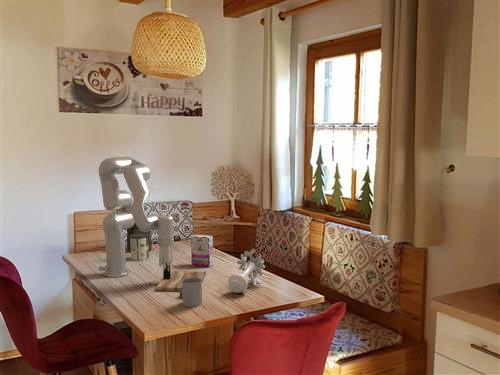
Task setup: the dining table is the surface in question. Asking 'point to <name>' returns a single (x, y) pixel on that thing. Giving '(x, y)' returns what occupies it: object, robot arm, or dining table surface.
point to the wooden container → (135, 230)
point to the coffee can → (139, 247)
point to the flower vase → (246, 272)
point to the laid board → (192, 275)
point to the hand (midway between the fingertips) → (167, 278)
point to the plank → (171, 281)
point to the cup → (192, 292)
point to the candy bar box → (202, 250)
